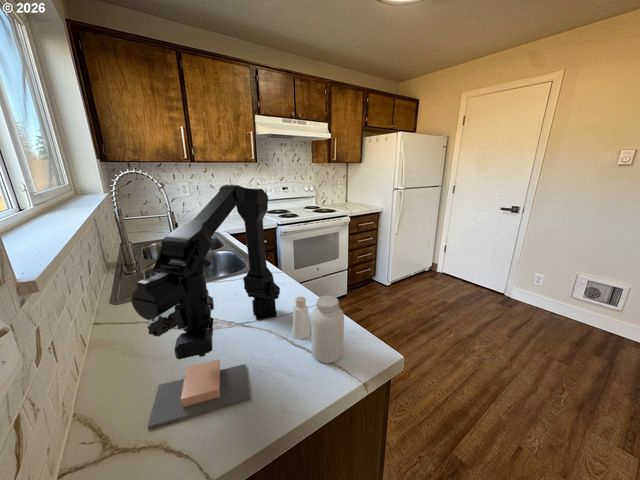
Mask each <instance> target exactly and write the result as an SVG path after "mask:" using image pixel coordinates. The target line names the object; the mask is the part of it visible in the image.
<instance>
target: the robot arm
mask: <svg viewBox="0 0 640 480" xmlns="http://www.w3.org/2000/svg"><path fill="white" fill-rule="evenodd" d="M268 204H269V195H268V194H267V192H266V191H265V190H264V189H263V188H247V187H243V186H241V185H239V184H237V185H236V184H223V185H222V186H220V188H219V189H218V192H217V193H216V194H215V196H213V197H212V198H211V199H210V200H209V202H208V203H207V204H206V205H205V206H204V207H203V208H202V210H200V212H199V213H198V214H197V215H196V216H195V217H194V218H193V219H192V220H191V221H189V222H187V223H185V224H183V225H180V226H178V227H175V229H173V230H172V231H170V232H169V233H168V234H166V236H164V238H163V239H162V242H161V248H160V250H159V252H158V255H157V257H156V260H155V263H154V265H153V268H152V270H151V271H152V273H154V274H155V275H152V276H150V277H149V278H145V279H141V280H139V281H137V282H136V286H137V289H135V290H134V291H133V292H132V296H131V297H132V298H131V304H132V307H133V309H134V310H135V312H136V313H137V315H139V316H140V317H141V318H142V319H145V320H147V323H146V325H147V329H148V334H149V335H152V336H153V337H160V336H162V335H163V334H165V333H167V332H169V331H170V330H172V329H174V328H176V327H177V329H178V330H183V331H184V332H183V333H180V334H179V336H178V337H177V338H176V340H175V344H174V345H175V346H174V349H173V350H174V355H175V359H177V360H182V359H187V358H192V357H195V356H198V357H200V358H202V357H205V356H206V354H209V353H210V352H212V351H213V345H214V344H213V342H214V341H213V334H214V328H213V326H214V318H213V317H212V311H213V310H215V308H214V307H215V306H214V305H215V304H214V298H213V297H212V296H210V293H209V289H208V288H207V287H208V286H207V281H206V275H205V274H206V273H205V269H206V268H208V267H210V266H211V265H212V262H211V261H209V260H208V259H206V256H207V254H208V252H209V251H210V249H211V248H212V245H213V243H212V242H213V239H212V237H213V236H214V235H215V233H216V232H217V230H218V229H219V228H220V226H221V225H222V224H223V223H224V221H225V220H226V219H227V218H228V216H229V215H230V214H231V212H233V210H234V209H235V208H236V211H237V213H238V214H239V216H240V218H241V219H242V220H243V222H244V228H245V230H244V231H245V238H246V248H247V249H246V250H247V258H248V266H249V268H248V269H249V270H247V273H246V275H245V276H243V277H242V278H243V285H244V286H243V289H244V290H245V292H246V294H247V296H248V298H253V299H252V300H251V302H252V303H251V304H252V312H253V316H255V319H256V320H257V321H259V320H263V319H264V320H265V319H269V318H274V317H277V316H278V313H277V309H276V308H277V307H276V300H277V299H279V296H280V293H281V288H280V286H279V285H277V284H276V282H275V280H274V276H273V273H272V272H271V270H270V269H269V268H268V267H267V266H268V265H267V256H266V255H267V254H266V246H265V245H266V244H265V243H266V241H265V232H264V221H263V220H264V218H265V216H266V214H267V212H268V210H269V209H268V207H269V205H268ZM170 262H174V263H181V264H182V265H179V264H174V263H173V264H172V263H170Z"/></svg>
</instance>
